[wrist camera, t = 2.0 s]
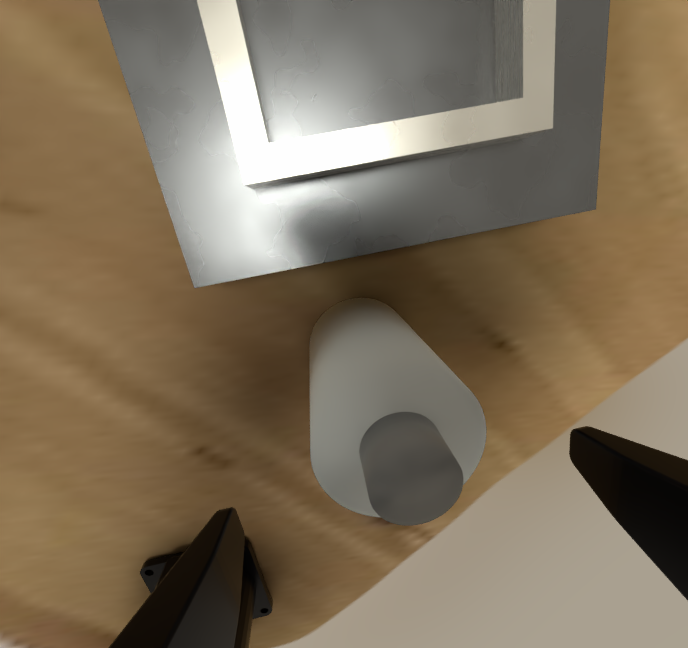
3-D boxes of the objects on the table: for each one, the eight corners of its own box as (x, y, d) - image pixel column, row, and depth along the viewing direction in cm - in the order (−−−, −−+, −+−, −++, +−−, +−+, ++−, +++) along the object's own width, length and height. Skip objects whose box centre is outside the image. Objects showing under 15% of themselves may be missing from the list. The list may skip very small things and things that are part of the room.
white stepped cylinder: (413, 379, 18) (518, 539, 9) (320, 399, 18) (332, 584, 9) (401, 288, 16) (516, 372, 7) (299, 309, 16) (288, 422, 7)
